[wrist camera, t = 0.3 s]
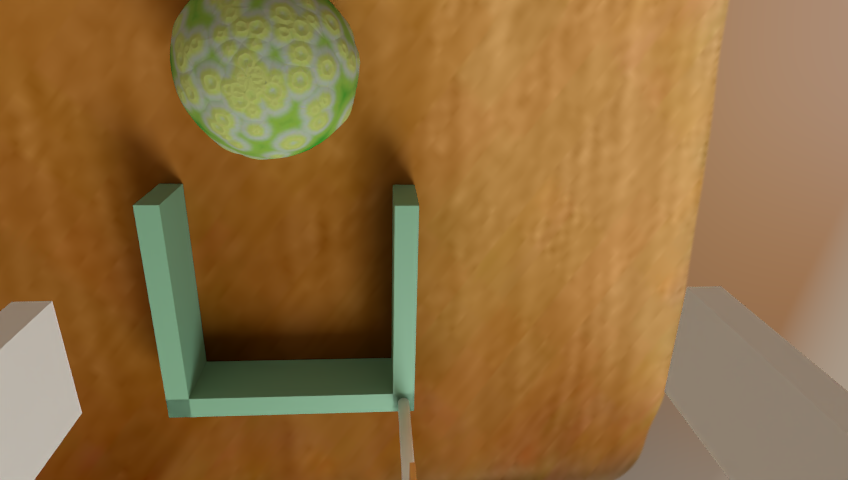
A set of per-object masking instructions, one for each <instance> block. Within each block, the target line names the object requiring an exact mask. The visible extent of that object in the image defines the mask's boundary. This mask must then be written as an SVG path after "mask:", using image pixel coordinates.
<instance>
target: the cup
mask: <svg viewBox="0 0 848 480" xmlns="http://www.w3.org/2000/svg"><path fill="white" fill-rule="evenodd" d="M133 209H134V215H135V221H136V227H137V233H138V239H139V244H140V250H141V256H142V262H143V268H144V274H145V279H146V285H147V291H148V297H149V303H150V309H151V314H152V320H153V326H154V332H155V338H156V344H157V349H158V355H159V361H160V367H161V373H162V379H163V384H164V390H165V396H166V402H167V408H168V414H169V418H170V417H206V416H242V415H277V414H313V413H349V412H385V411H398V413H399V431H400V450H401V468H402V480H417V477H416V465H415V462H414V454H413V442H412V430H411V418H410V411H414V384H415V345H416V307H417V268H418V229H419V203H418V198H417V194H416V189H415V185H393V222H392V354H391V358H362V359H313V360H264V361H214V362H207V360H206V353H205V345H204V338H203V331H202V323H201V316H200V309H199V301H198V294H197V286H196V279H195V272H194V264H193V257H192V249H191V242H190V235H189V227H188V220H187V212H186V205H185V198H184V190H183V184H158V185H157V186H156V187H155V188H153V189H152V190H151V191H150V192H149V193H147V194H146V195H145V196H144V197H142V198H141V199H140V200H139V201H137V202H136V203H135V204H134V205H133Z"/></svg>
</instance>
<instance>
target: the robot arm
mask: <svg viewBox="0 0 848 480" xmlns="http://www.w3.org/2000/svg"><path fill="white" fill-rule="evenodd" d="M665 393H666V394H667V396H668V397H669V398H670V400H671V401H672V402H673V404H674V405H675V407H676V408H677V409H678V411H679V412H680V413H681V415H682V416H683V417H684V419H685V420H686V421H687V423H688V424H689V425H690V427H691V428H692V430H693V431H694V432H695V434H696V435H697V436H698V438H699V439H700V441H701V442H702V443H703V445H704V446H705V447H706V449H707V450H708V451H709V453H710V454H711V455H712V457H713V458H714V459H715V461H716V462H717V464H718V465H719V466H720V468H721V469H722V470H723V472H724V473H725V474H726V476H727V477H728V478H729V480H848V391H847V390H846V389H844V388H843V387H842V386H841V385H839V384H838V383H837V382H836V381H835V380H833V379H832V378H831V377H830V376H829V375H827V374H826V373H825V372H824V371H823V370H821V369H820V368H819V367H818V366H817V365H815V364H814V363H813V362H812V361H811V360H809V359H808V358H807V357H806V356H805V355H803V354H802V353H801V352H799V351H798V350H797V349H796V348H795V347H794V346H792V345H791V344H790V343H789V342H788V341H786V340H785V339H784V338H783V337H781V336H780V335H779V334H778V333H776V332H775V331H774V330H773V329H772V328H771V327H769V326H768V325H767V324H766V323H765V322H763V321H762V320H761V319H760V318H759V317H757V316H756V315H755V314H754V313H752V312H751V311H750V310H749V309H748V308H746V307H745V306H744V305H743V304H742V303H740V302H739V301H738V300H737V299H736V298H734V297H733V296H732V295H731V294H730V293H728V292H727V291H726V290H725V289H723V288H722V287H721V286H718V287H717V286H715V287H687V290H686V294H685V299H684V304H683V308H682V313H681V317H680V322H679V327H678V331H677V336H676V341H675V345H674V350H673V355H672V359H671V364H670V368H669V373H668V378H667V382H666V387H665ZM81 414H82V412H81V408H80V404H79V400H78V396H77V393H76V389H75V385H74V381H73V378H72V374H71V370H70V366H69V362H68V359H67V355H66V351H65V347H64V344H63V340H62V336H61V332H60V329H59V325H58V321H57V317H56V313H55V310H54V306H53V302H52V301H36V302H11V303H10V304H9V305H8V306H6V307H5V308H4V309H3V310H1V311H0V480H34V479H35V478H36V477H37V475H38V474H39V472H40V471H41V470H42V468H43V467H44V465H45V464H46V463H47V461H48V460H49V458H50V457H51V456H52V454H53V453H54V451H55V450H56V449H57V447H58V446H59V444H60V443H61V442H62V440H63V439H64V437H65V436H66V435H67V433H68V432H69V430H70V429H71V428H72V426H73V425H74V423H75V422H76V421H77V419H78V418H79V416H80V415H81Z"/></svg>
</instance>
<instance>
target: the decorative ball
mask: <svg viewBox="0 0 848 480" xmlns="http://www.w3.org/2000/svg"><path fill="white" fill-rule="evenodd" d="M170 63H171V71H172V76H173V81H174V84H175V88H176V91H177V94H178V96H179V98H180V100H181V102H182V104H183V106H184V107H185V109H186V110H187V112H188V113H189V115H190V116H191V117H192V119H193V120H194V121H195V122H196V123H197V125H198V126H199V127H200V128H201V129H202V130H203V131H204V132H205V133H206V134H207V135H208V136H209V137H210V138H212V139H213V140H214V141H215V142H216V143H217V144H218V145H220V146H221V147H222V148H224V149H226V150H228V151H230V152H233V153H237V154H242V155H244V156H246V157H249V158H252V159H259V160H263V159H274V158H283V157H289V156H293V155H296V154H299V153H302V152H304V151H307V150H309V149H311V148H313V147H314V146H316V145H318V144H319V143H321V142H323V141H324V140H325V139H327V138H328V137H329V136H330V135H331V134H332V133H334V132H335V131H336V130H337V129H338V128H339V127H340V126H341V125H342V124H343V123H344V122H345V121H346V119H347V118H348V116H349V114H350V112H351V109H352V105H353V101H354V97H355V93H356V88H357V83H358V76H359V67H360V58H359V53H358V50H357V48H356V45H355V41H354V36H353V32H352V30H351V28H350V26H349V24H348V22H347V21H346V20H345V19H344V17H343V16H342V15H341V14H340V12H339V11H338V10H337V9H336V8H335V6H334V5H333V4H332V3H331V2H330V1H329V0H190V1H189V2H188V3H187V4H186V5H185V7H184V8H183V10H182V11H181V13H180V14H179V16H178V17H177V19H176V21H175V23H174V26H173V30H172V39H171V46H170Z"/></svg>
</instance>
